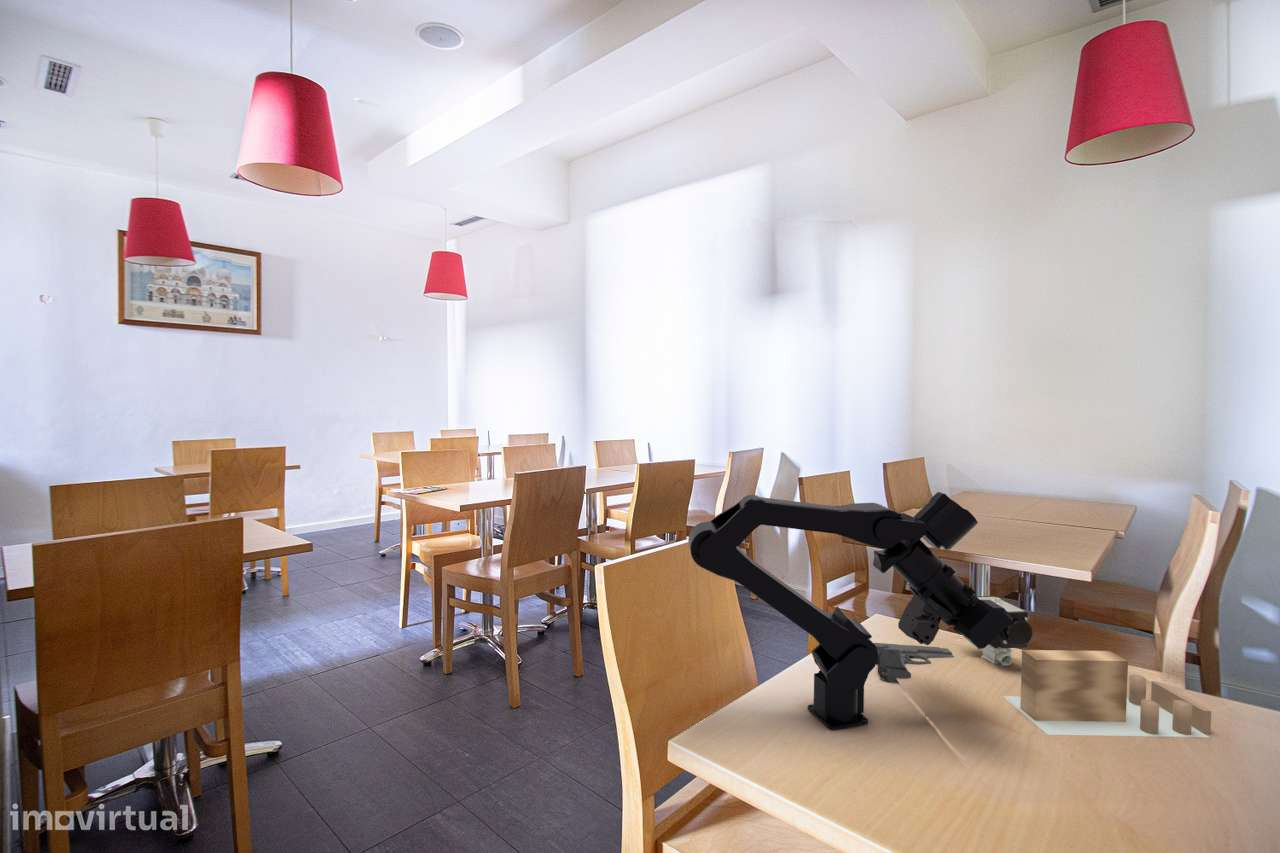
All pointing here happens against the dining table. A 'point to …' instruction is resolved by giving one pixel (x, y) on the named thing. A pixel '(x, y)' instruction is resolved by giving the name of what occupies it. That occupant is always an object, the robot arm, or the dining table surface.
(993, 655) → the pneumatic valve
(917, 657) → the handgun
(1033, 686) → the brown wooden block
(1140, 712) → the panel
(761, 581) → the robot arm
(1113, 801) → the dining table surface
